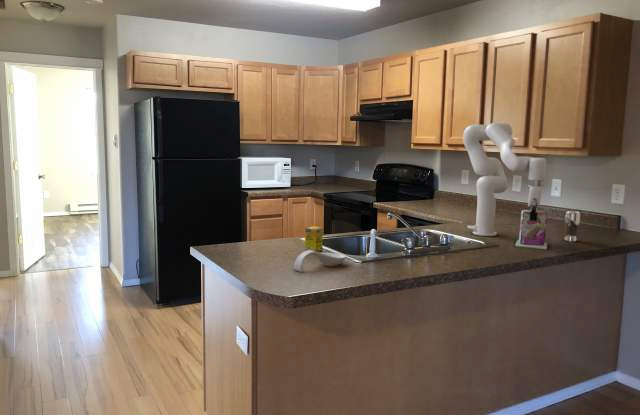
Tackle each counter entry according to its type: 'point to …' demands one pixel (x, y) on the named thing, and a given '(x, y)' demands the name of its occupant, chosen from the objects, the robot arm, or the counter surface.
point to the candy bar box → (532, 228)
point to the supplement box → (314, 239)
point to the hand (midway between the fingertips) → (533, 219)
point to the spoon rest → (324, 258)
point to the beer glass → (571, 225)
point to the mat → (531, 245)
